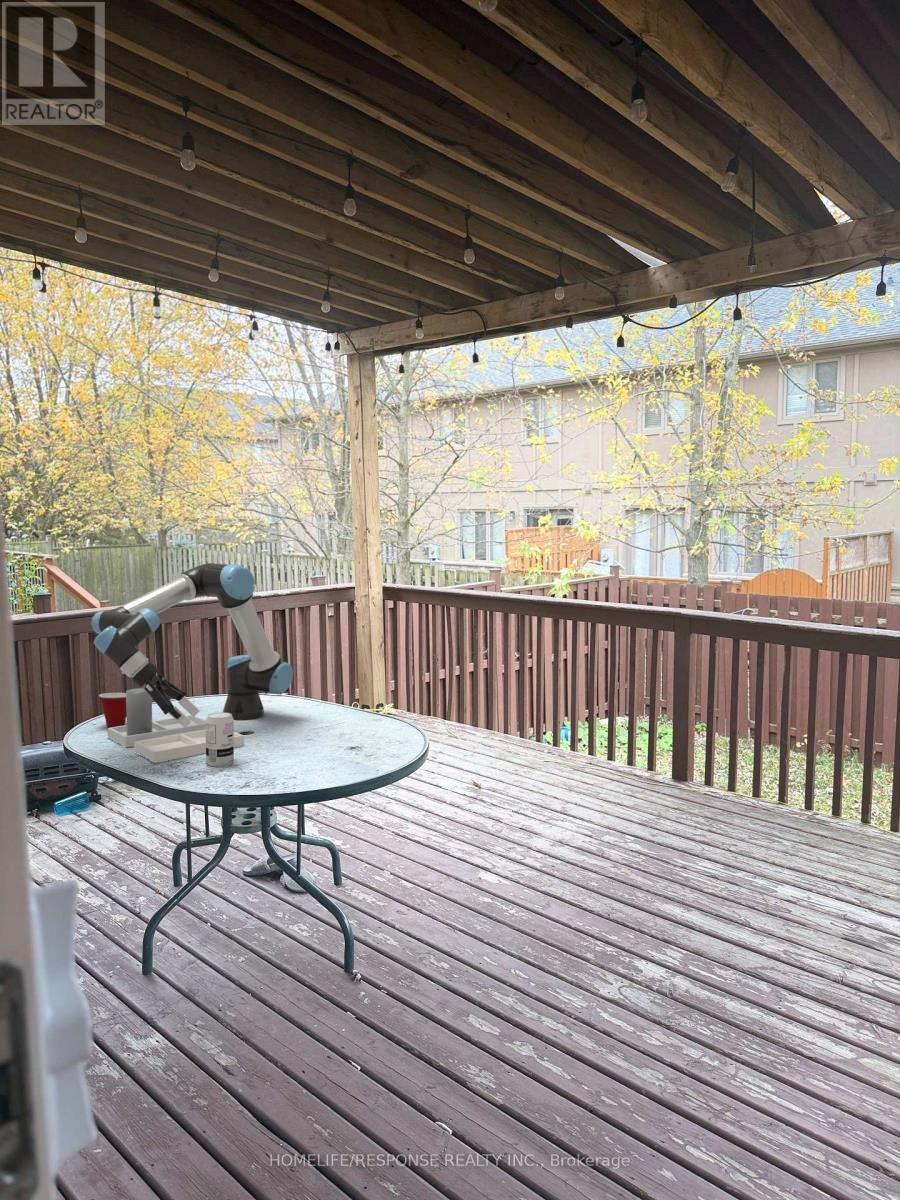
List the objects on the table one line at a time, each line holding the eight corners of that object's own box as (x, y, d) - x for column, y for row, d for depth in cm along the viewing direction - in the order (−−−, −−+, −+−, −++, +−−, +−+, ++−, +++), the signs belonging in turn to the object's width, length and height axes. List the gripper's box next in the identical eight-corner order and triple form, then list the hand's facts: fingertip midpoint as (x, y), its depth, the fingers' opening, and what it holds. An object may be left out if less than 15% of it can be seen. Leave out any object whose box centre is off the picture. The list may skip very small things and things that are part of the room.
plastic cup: (138, 723, 288) (137, 691, 287) (123, 731, 277) (122, 697, 276) (109, 722, 289) (108, 689, 288) (93, 729, 278) (92, 696, 277)
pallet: (221, 736, 273) (221, 726, 273) (243, 745, 262) (243, 735, 262) (134, 752, 252) (134, 741, 252) (154, 763, 241) (154, 752, 241)
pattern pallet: (192, 724, 289) (191, 679, 287) (211, 732, 278) (211, 685, 276) (107, 738, 268) (106, 690, 267) (125, 747, 257) (124, 697, 256)
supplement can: (209, 759, 247) (208, 711, 245) (236, 759, 247) (236, 711, 246) (203, 767, 238) (202, 718, 237) (231, 767, 239) (231, 718, 238)
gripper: (141, 671, 249) (191, 718, 252) (119, 687, 224) (174, 738, 227) (159, 654, 249) (208, 701, 252) (138, 668, 224) (194, 720, 228)
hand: (192, 719), depth 240 cm, fingers open, 13 cm apart
